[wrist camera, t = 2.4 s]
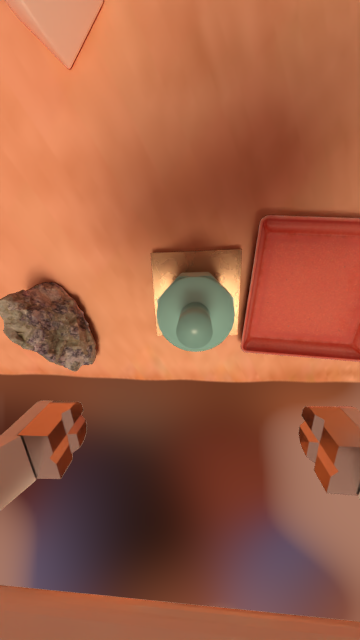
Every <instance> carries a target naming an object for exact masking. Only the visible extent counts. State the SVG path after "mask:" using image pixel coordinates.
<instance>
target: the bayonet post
mask: <svg viewBox="0 0 360 640" xmlns="http://www.w3.org/2000/svg"><path fill="white" fill-rule="evenodd" d="M241 255H242V249H233V250H209V251H186V252H162V253H151V265H152V277H153V290H154V302H155V315H156V327H157V336H158V335H163V334H162V332H161V331H160V329H159V326H158V322H157V306H158V305H157V299H158V298H159V297H160V296H161V295H162V294H163V292H164V291H165V290H166V289H167V288H168V287H169V286H170V285H171V284H172V282H173V281H174V280H175V279H176V278H177V277H178V276H179V275H180V274H181V273H189V272H209V273H211V274H212V275H213V276H214V277H215V278H216V279H217V280H218V281H219V282H220V283H221V284H222V285H223V286H224V287H225V288H226V289H227V290H228V291H229V293H230V294H231V295H232V296H233V298H234V311H235V317H234V323H233V328H232V329H231V331H230V333H229V335H237V330H238V311H239V292H240V274H241Z"/></svg>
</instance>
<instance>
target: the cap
mask: <svg viewBox="0 0 360 640" xmlns="http://www.w3.org/2000/svg"><path fill="white" fill-rule="evenodd" d="M157 305H158V306H157V322H158V326H159V329H160V331H161V332H162V334H163V335H164V337H165V338H166V339H167V340H168V341H169V342H170V343H172V344H173V345H174V346H176V347H178V348H180V349H183V350H186V351H194V352H197V351H205V350H208V349H211V348H213V347H215V346H217V345H219V344H220V343H221V342H222V341H223V340H224V339H225V338H226V337H227V336H228V335H229V333H230V331H231V329H232V328H233V323H234V317H235V311H234V298H233V296H232V295H231V294H230V293H229V291H228V290H227V289H226V288H225V287H224V286H223V285H222V284H221V283H220V282H219V281H218V280H217V279H216V278H215V277H214V276H213V275H212V274H211V273H209V272H189V273H181V274H180V275H179V276H178V277H177V278H176V279H175V280H174V281H173V282H172V284H171V285H170V286H169V287H168V288H167V289H166V290H165V291H164V292H163V294H162V295H161V296H160V297H159V298H158V299H157Z"/></svg>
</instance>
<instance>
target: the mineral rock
mask: <svg viewBox="0 0 360 640" xmlns="http://www.w3.org/2000/svg"><path fill="white" fill-rule="evenodd" d="M83 313H84V312H83V311H82V310H80V309H79V307H78V305H77V303H76V301H75V300H74V299H73V298H71V297H70V296H69V295H68V294H67V293H66V292H65V290H64V289H63V288H62V287H60V286H59V285H57V284H56V283H53V282H51V283H41V284H39V285H36V286H34V287H33V288H31V289H29V290H27V291H24V290H21V291H19V292H16V293H13V294H8V295H7V296H5V297H3V298H2V299H0V316H1V317H2V319H3V320H4V330H3V331H4V333H5V334H6V335H7V337H8V338H9V339H10V340H11V341H12V342H14V343H16V344H18V345H20V346H21V347H22V348H23V349H28V350H32V351H35V352H38V353H39V354H40V355H42V356H43V357H44V358H45V359H47V360H48V361H50V362H53V363H55V364H58V365H63V366H64V367H65V368H68V369H70V370H72V371H77V370H78V369H79V368H80V367H81V366H82V365H89V364H93V362H94V361H95V358H96V348H95V347H96V342H95V340H94V337H93V335H92V333H91V330H90V328H89V324H88V322H87V321H86V320H85V317H84V314H83Z"/></svg>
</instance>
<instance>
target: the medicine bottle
mask: <svg viewBox="0 0 360 640" xmlns="http://www.w3.org/2000/svg"><path fill="white" fill-rule="evenodd" d="M5 1H6V3H7V4H8V5H9V7H10V8H11V9H12V11H13V12H14V13H15V15H16V16H17V17H18V18H19V19H20V20H21V21H22V22H23V23H24V24H25V25H26V26H27V27H28V28H29V29H30V30H31V31H32V33H33V34H34V35H35V36H36V37H37V38H38V39H39V40H40V41H41V42H42V43H43V44H44V45H45V46H46V47H47V48H48V49H49V50H50V51H51V52H52V53H53V54H54V55H55V56H56V57H57V58H58V59H59V60H60V61H61V62H62V63H63V64H64V65H65V66H66V67H67V68H68V69H70V68H71V67H72V65H73V63H74V61H75V59H76V57H77V55H78V53H79V51H80V49H81V47H82V45H83V43H84V41H85V39H86V37H87V35H88V33H89V31H90V29H91V26H92V24H93V22H94V20H95V18H96V16H97V14H98V12H99V10H100V8H101V6H102V4H103V0H5Z"/></svg>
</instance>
